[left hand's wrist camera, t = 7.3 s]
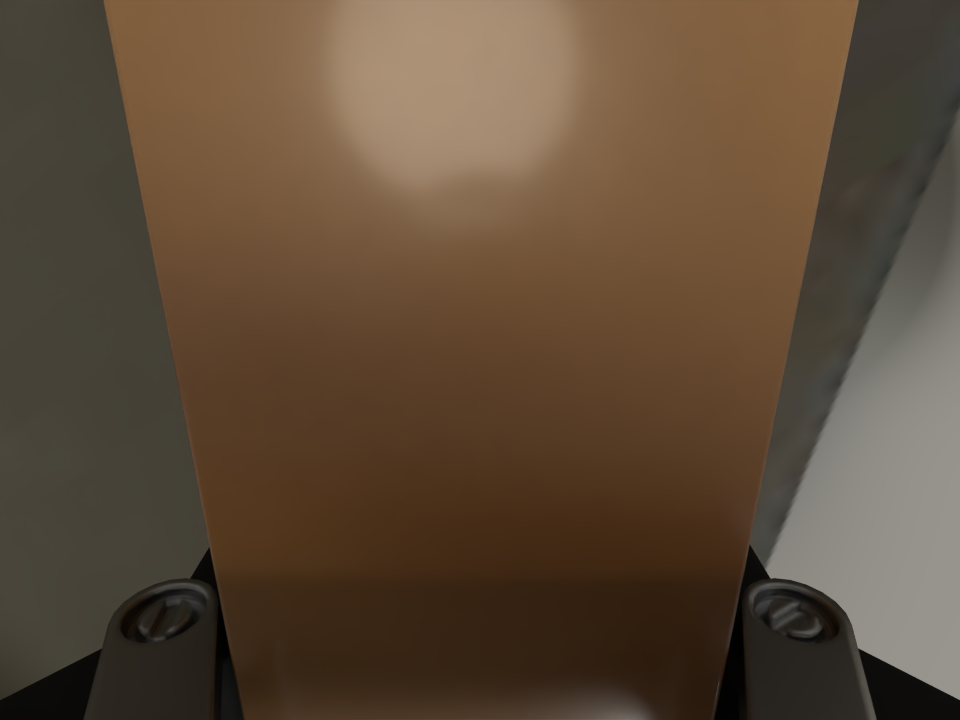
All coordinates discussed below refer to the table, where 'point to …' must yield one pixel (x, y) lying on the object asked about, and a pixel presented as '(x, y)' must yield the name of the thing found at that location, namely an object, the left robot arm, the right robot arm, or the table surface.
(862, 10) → the table surface
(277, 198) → the bar
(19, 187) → the table surface
